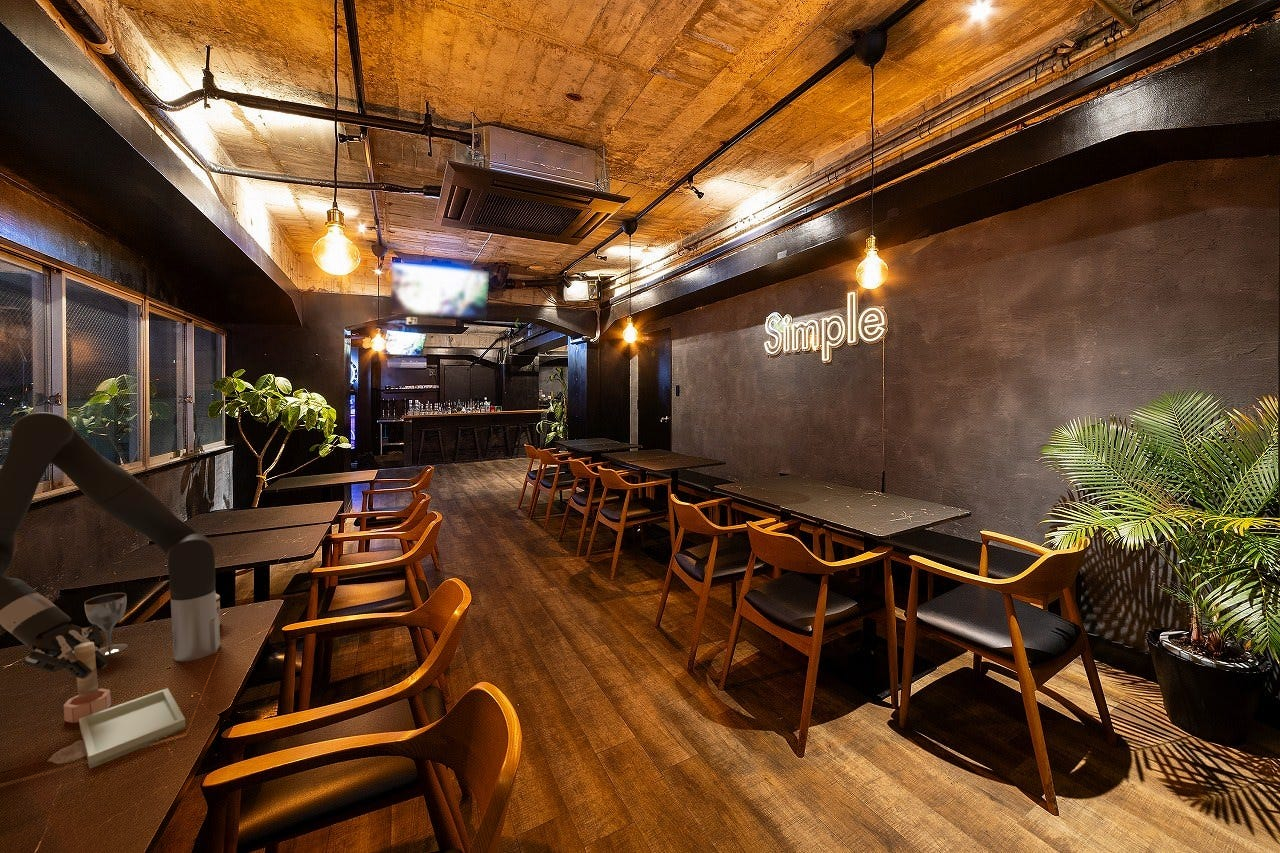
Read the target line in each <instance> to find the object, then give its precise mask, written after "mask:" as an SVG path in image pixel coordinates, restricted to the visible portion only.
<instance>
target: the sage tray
mask: <svg viewBox="0 0 1280 853" xmlns="http://www.w3.org/2000/svg"><path fill="white" fill-rule="evenodd" d="M78 723H79V730H80V734H81V738H82V739H83V742H84V746H85V750H86V758H87V764H88V767H89V769H93V768H95V767H98V766H100V765H103V764H105V763H107V762H110V761H112V760H115V759H118V758H120V757H123V756H126V755H127V754H130V753H132V752H135V751H138V750H140V749H143V748H146V747H148V746H149V745H152V744H154V743H157V742H160V741H162V740H164V738H165V737H168V736H170V735H172V734H175V733H177V732H180V731H183V730H185V729H187V728H186V727H187V726H186V718H185V717H184V714H183V713H182V711H181V708H180V707H179V705H178V703H177V701H176V700H175V698H174V696H173V695H172V692H171V691H170V689H169V687H166V688H163V689H161V690H158V691H155V692H152V693H148V694H146V695H144V696H141V697H138V698H135V699H132V700H128V701H125V702H123V703H120V704H117V705H114V706H110V708H108V709H105V710H102V711H99V712H96V713H93V714H91V715H88V716H85V717H82V718H79V722H78ZM162 738H163V739H162ZM82 739H81V740H82Z"/></svg>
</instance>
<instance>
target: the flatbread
mask: <svg viewBox="0 0 1280 853" xmlns="http://www.w3.org/2000/svg"><path fill="white" fill-rule="evenodd" d="M84 757H87V755H86V750H85V746H84V742H83V739H80V740H77V741H75V742H73V743H72V744H70V745H68V746H66V747H63V748H61V749H59V750H58V751H55V753H53V754H52V756H51V757H49V758H48V760H46V761H47V762H48V763H49V762H51V763H52V762H53V763H54V764H56V765H60V764H66V763H69V762H73V761H76V760H79V759H81V758H84Z"/></svg>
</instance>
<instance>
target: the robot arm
mask: <svg viewBox="0 0 1280 853" xmlns="http://www.w3.org/2000/svg"><path fill="white" fill-rule="evenodd" d="M10 432H11V434H10V435H11V437H10V442H9V446H8V451H7V454H6V457H5V459H4V461H3V464H2V467H0V468H1V469H0V625H1V627H3V628H4V629H5V630H6V631H7V632H9V633H10V634H11V635H13V636H14V637H15V638H16V639H17V640H18V641H19V642H21V643H22V644H23V645H24V646H26V647H29V648H32V649H31V650H32V651H31V652H30V653H29V654H28V655H27V656H26V657H25V658H24V659H23V661H22V663H23V664H25V665H28V666H32V667H35V668H37V669H40V670H41V669H42V670H44V671H48V672H51V673H56V672H58V671H60V670H67V671H69V673H71V674H72V675H73V676H74V677H75V678H77V677H78V678H81V679H84V678H86V677H87V676H88V675H89V674H90V673H91V672H92V670H91V669H90V668H88V667H87V666H86V665H85V664H84V663H82V662H81V661H80V660H78V661H77V658H76V657H75V655H74V647H75V646H77V645H80V644H83V643H87V642H94V648H95V659H96V670H98V671H101V670H102V669H105V668H106V666H107V665H108V664H109V660H108V658H107V656H103V655H102V654H101V653H100V652H99V651H98V649H101V648H102V646H103V645H104V643H105V642H104V639H103V636H102V634H101V631H100V628H99V627H98V625H96V624H91V625H90V626H88V627H81V626H79V625H76V624H74V623H73V622H72V618H71V617H70V616H69V615H68V614H66V613H65V611H62V609H60V608H59V607H58V606H57V605H55V604H54V602H52V601H51V600H50V599H48V598H47V597H45V596H43V595H42V594H40V593H39V592H37V591H36V590H35V589H34V588H33V587H31V586H30V585H29V584H28V583H26V582H25V581H23V580H22V579H20V578H16V577H15V578H14V577H7V576H3V575H4V574H6V572H7V571H8V570H9V569H10V566H11V565H12V561H13V558H14V551H15V550H14V549H15V543H16V542H15V540H16V535H17V532H18V531H19V529H20V527H21V526H22V524H23V522H24V520H25V518H26V516H27V513H28V511H29V509H30V507H31V504H32V502H33V499H34V497H35V493H36V491H37V490H38V486H39V484H40V482H41V479H42V477H43V476H44V474H45V472H46V470H47V468H48V467H49V466H50V464H52V466H55V467H56V468H58V469H59V470H60V471H61V472H62V473H63V474H65V475H66V476H67V477H68V478H69V479H70V480H71V482H72V483H73V484H74V485H75V486H76V487H77V488H78V489H79V490H80V491H81V493H82V494H83V495H84V496H85V497H87V498H88V500H90V501H91V502H92V503H93V504H94V505H96V507H98V508H99V509H101V510H102V511H103V512H104V513H106V514H107V515H108V516H109V517H111V518H113V519H114V520H116V521H118V522H119V523H121V524H122V525H124V526H126V527H128V528H131V529H133V530H135V531H137V532H139V533H140V534H142V535H144V536H146V537H147V538H148V539H150V540H151V541H152V542H153V543H154V544H155V545H156V546H157V547H159V549H161V551H162V553H163V552H164V554H165V555H166V556H167V567H168V569H167V570H168V580H169V581H168V583H169V596H170V597H169V598H170V612H171V613H170V614H171V630H172V648H173V659H174V660H175V661H177V662H189V661H194V660H199V659H202V658H205V657H208V656H211V655H213V654H217V653H218V650H219V648H220V645H221V636H220V632H221V631H220V625H219V614H218V613H217V610H216V594H217V593H216V566H215V565H216V563H215V562H216V561H215V550H214V546H213V544H212V542H211V540H210V539H209V538H208V537H207V536H205V535H204V534H202V533H200V532H199V531H197V530H196V529H194V527H191V526H190V525H188V524H187V523H185V522H184V520H181V519H180V518H179V517H177V516H176V515H175V514H174V513H173V512H172V511H171V510H170V509H169V508H168V507H167V505H166V504H164V502H163V501H162V499H160V498H159V497H158V496H157V495H155V494H154V493H153V492H152V490H150V489H149V488H148V487H147V486H145V484H143V483H142V482H141V481H140V480H138V478H136V477H135V476H134V475H132V474H131V473H129V472H128V471H127V470H125V469H124V468H122V467H121V466H120V465H118V464H117V463H115V462H113V461H111V460H110V459H108V458H107V457H106V456H104V455H102V454H100V452H98V451H97V450H95V449H94V447H92V446H91V445H90V443H88V442H87V441H86V440H85V439H84V438H83V437H82V435H80V434H79V432H77V430H75V428H74V427H73V426H72V423H71V422H70V421H69V420H68V419H67V418H65V417H64V416H62V415H59V414H57V413H54V412H47V411H39V412H31V413H29V414H25V415H24V416H21V417H19V418H17V420H16V421H15V422H14V424H12V427H11V429H10Z"/></svg>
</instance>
